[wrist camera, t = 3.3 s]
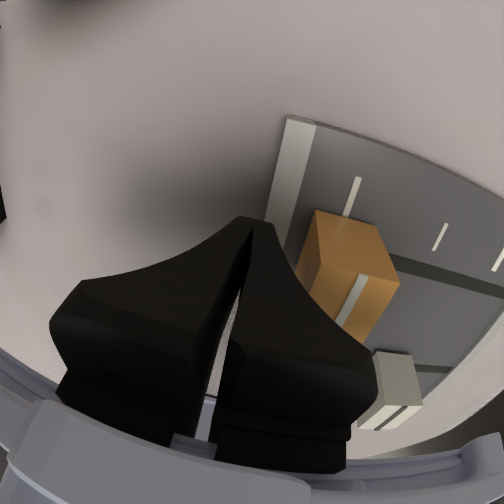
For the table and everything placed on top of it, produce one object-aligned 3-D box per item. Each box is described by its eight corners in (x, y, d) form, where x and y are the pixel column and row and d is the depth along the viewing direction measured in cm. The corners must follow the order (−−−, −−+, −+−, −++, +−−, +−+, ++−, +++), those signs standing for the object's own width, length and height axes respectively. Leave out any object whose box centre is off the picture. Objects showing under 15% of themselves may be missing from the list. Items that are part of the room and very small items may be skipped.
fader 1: (348, 285, 12) (359, 350, 9) (294, 272, 12) (290, 338, 9) (375, 226, 10) (401, 285, 7) (315, 209, 10) (321, 266, 7)
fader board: (422, 390, 19) (425, 405, 17) (229, 364, 19) (225, 382, 18) (543, 225, 10) (556, 238, 9) (288, 114, 10) (287, 118, 9)
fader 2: (387, 382, 16) (393, 430, 13) (354, 379, 16) (357, 430, 13) (411, 355, 14) (423, 407, 11) (376, 351, 14) (385, 406, 11)
